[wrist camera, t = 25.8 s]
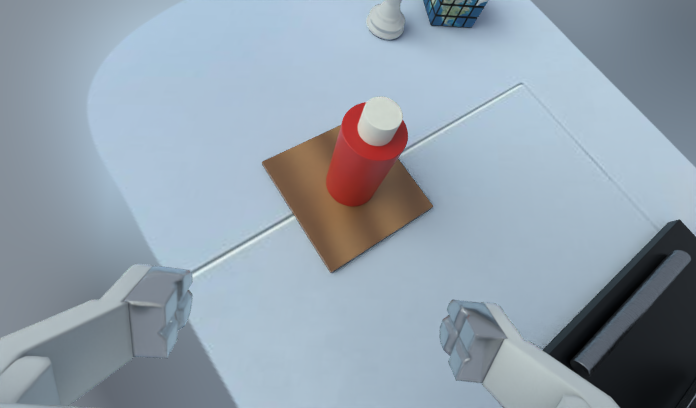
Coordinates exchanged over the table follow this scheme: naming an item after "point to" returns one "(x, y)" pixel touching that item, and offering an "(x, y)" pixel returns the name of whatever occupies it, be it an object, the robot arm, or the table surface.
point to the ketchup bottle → (366, 150)
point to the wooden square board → (333, 217)
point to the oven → (641, 328)
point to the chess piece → (386, 20)
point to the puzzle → (454, 12)
